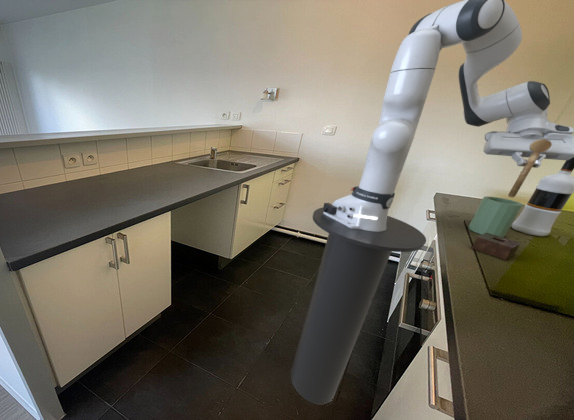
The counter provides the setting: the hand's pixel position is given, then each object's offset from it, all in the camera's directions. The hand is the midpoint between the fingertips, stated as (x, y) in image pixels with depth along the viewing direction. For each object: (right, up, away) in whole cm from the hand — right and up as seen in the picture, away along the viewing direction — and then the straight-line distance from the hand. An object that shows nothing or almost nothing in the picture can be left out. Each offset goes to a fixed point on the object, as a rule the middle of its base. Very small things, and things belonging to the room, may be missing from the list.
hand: (528, 165), depth 79 cm
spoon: (0, -10, +5) cm, 11 cm away
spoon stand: (-11, -28, +1) cm, 30 cm away
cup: (+3, -23, +15) cm, 28 cm away
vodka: (+23, -23, +17) cm, 37 cm away
